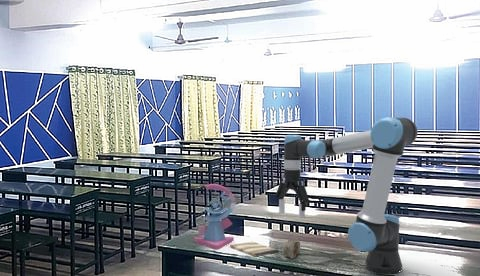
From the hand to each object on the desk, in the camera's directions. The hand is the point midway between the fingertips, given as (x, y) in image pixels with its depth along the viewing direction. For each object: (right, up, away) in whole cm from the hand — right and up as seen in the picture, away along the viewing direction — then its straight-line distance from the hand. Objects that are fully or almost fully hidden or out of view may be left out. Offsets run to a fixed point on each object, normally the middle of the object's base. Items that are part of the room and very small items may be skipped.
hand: (291, 215), depth 231 cm
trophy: (-36, -17, +23) cm, 46 cm away
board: (-17, -18, +11) cm, 27 cm away
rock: (0, -19, +1) cm, 19 cm away
